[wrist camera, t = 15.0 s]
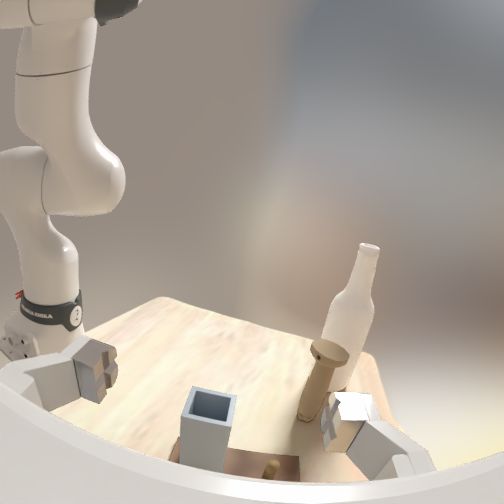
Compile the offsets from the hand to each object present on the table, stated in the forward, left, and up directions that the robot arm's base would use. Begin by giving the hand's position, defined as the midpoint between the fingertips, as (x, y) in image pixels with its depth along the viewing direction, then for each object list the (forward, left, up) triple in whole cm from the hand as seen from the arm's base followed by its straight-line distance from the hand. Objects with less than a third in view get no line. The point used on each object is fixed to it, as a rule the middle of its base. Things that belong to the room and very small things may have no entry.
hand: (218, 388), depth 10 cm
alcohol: (+20, +42, -30) cm, 56 cm away
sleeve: (-2, +15, -29) cm, 33 cm away
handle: (+14, +30, -30) cm, 45 cm away
